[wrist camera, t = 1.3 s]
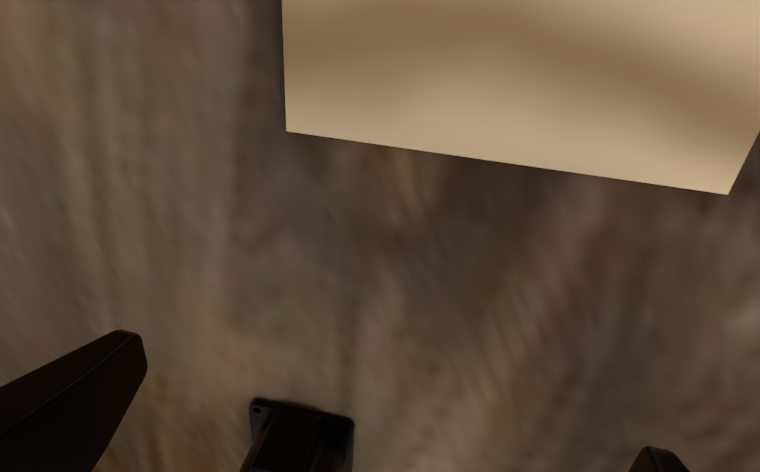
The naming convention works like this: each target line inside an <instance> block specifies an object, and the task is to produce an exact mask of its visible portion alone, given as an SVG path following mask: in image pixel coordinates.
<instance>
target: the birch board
mask: <svg viewBox="0 0 760 472" xmlns="http://www.w3.org/2000/svg"><path fill="white" fill-rule="evenodd" d="M282 21H283V50H284V79H285V108H286V131H288V132H295V133H302V134H309V135H316V136H323V137H330V138H337V139H344V140H351V141H358V142H365V143H372V144H379V145H386V146H393V147H400V148H407V149H414V150H420V151H427V152H434V153H441V154H448V155H455V156H462V157H469V158H476V159H483V160H490V161H497V162H504V163H511V164H518V165H525V166H532V167H539V168H546V169H553V170H560V171H567V172H574V173H581V174H588V175H594V176H601V177H608V178H615V179H622V180H629V181H636V182H643V183H650V184H657V185H664V186H671V187H678V188H685V189H692V190H699V191H706V192H713V193H720V194H727V195H728V193H729V191H730V189H731V187H732V185H733V183H734V181H735V179H736V177H737V175H738V173H739V171H740V169H741V167H742V165H743V163H744V161H745V159H746V157H747V155H748V153H749V151H750V149H751V147H752V145H753V143H754V141H755V139H756V137H757V135H758V133H759V131H760V0H282Z"/></svg>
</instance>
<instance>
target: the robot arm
mask: <svg viewBox="0 0 760 472" xmlns="http://www.w3.org/2000/svg"><path fill="white" fill-rule="evenodd" d="M146 372H147V359H146V355H145V351H144V346H143V342H142V338H141V336H140V335H139V334H137V333H134V332H130V331H125V330H115V331H113V332H110V333H108V334H106V335H104V336H102V337H100V338H98V339H96V340H94V341H92V342H90V343H88V344H86V345H84V346H82V347H80V348H78V349H76V350H74V351H72V352H70V353H68V354H66V355H64V356H62V357H60V358H58V359H56V360H54V361H52V362H50V363H48V364H46V365H44V366H42V367H40V368H38V369H36V370H34V371H32V372H30V373H28V374H26V375H24V376H22V377H20V378H18V379H16V380H14V381H12V382H10V383H8V384H6V385H4V386H2V387H0V472H91V471H92V470H93V468H94V467H95V465H96V464H97V462H98V461H99V459H100V458H101V456H102V454H103V453H104V451H105V450H106V448H107V446H108V444H109V443H110V441H111V439H112V437H113V435H114V434H115V432H116V430H117V428H118V426H119V424H120V422H121V420H122V419H123V417H124V415H125V413H126V411H127V409H128V407H129V406H130V404H131V402H132V400H133V398H134V396H135V394H136V392H137V391H138V389H139V387H140V385H141V383H142V381H143V379H144V377H145V375H146ZM249 415H250V424H251V433H252V442H253V444H252V446H251V448H250V450H249V452H248V454H247V456H246V458H245V460H244V462H243V465H242V467H241V469H240V471H239V472H352V461H353V445H354V430H355V425H354V423H353V422H352V421H350V420H348V419H344V418H339V417H335V416H330V415H326V414H321V413H317V412H312V411H308V410H303V409H299V408H294V407H290V406H285V405H281V404H276V403H272V402H267V401H263V400H258V399H255V400H253V401H252V402H251V404H250V406H249ZM628 472H689V470H688V469H687V468H686V467H685V466H684V464H683V463H682V462H681V461H680V459H679V458H678V457H677V456H676V455H675V454H674V453H673V452H671V451H669V450H665V449H660V448H656V447H651V446H646V447H644V448H642V450H641V451H640V453H639V454H638V456H637V458H636V459H635V461H634V463H633V464H632V466H631V468H630V469H629V471H628Z"/></svg>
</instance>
